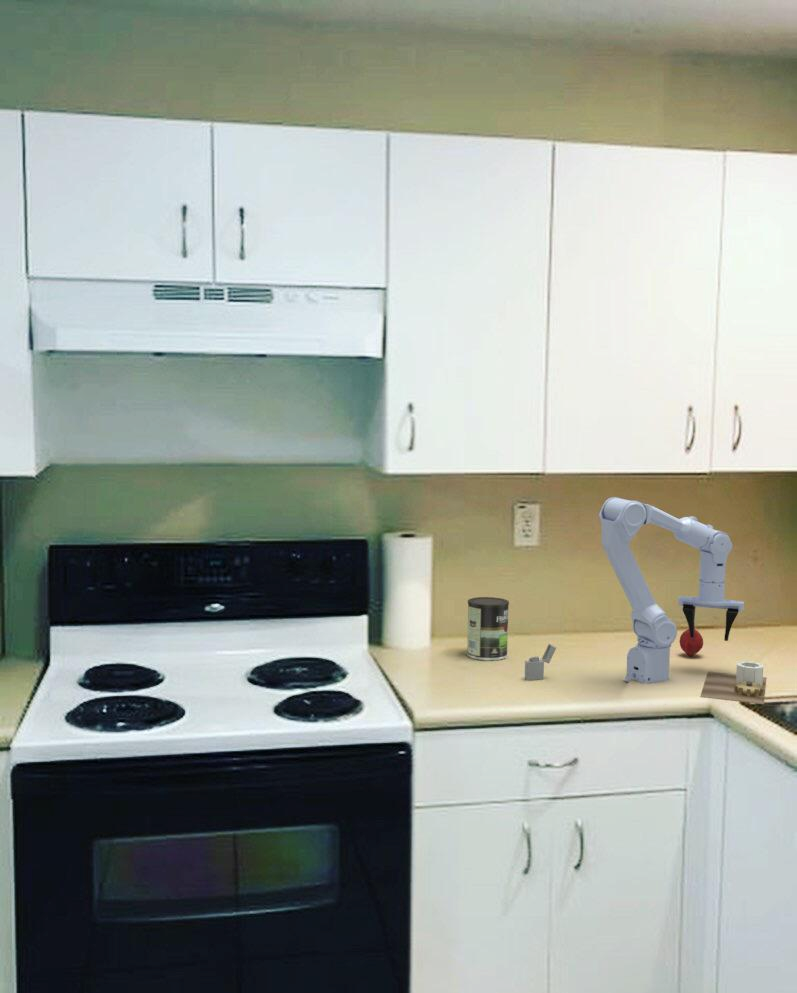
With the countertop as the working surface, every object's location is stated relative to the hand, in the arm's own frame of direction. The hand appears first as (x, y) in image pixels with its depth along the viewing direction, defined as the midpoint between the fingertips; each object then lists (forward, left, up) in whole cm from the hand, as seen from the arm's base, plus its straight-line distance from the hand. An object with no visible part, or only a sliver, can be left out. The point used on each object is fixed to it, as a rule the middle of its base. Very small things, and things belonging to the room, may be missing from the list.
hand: (709, 638), depth 239 cm
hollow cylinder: (+1, -11, -8) cm, 14 cm away
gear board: (-4, -11, -9) cm, 15 cm away
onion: (+12, +16, -10) cm, 22 cm away
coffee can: (-33, +42, -10) cm, 54 cm away
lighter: (-35, +19, -10) cm, 41 cm away
